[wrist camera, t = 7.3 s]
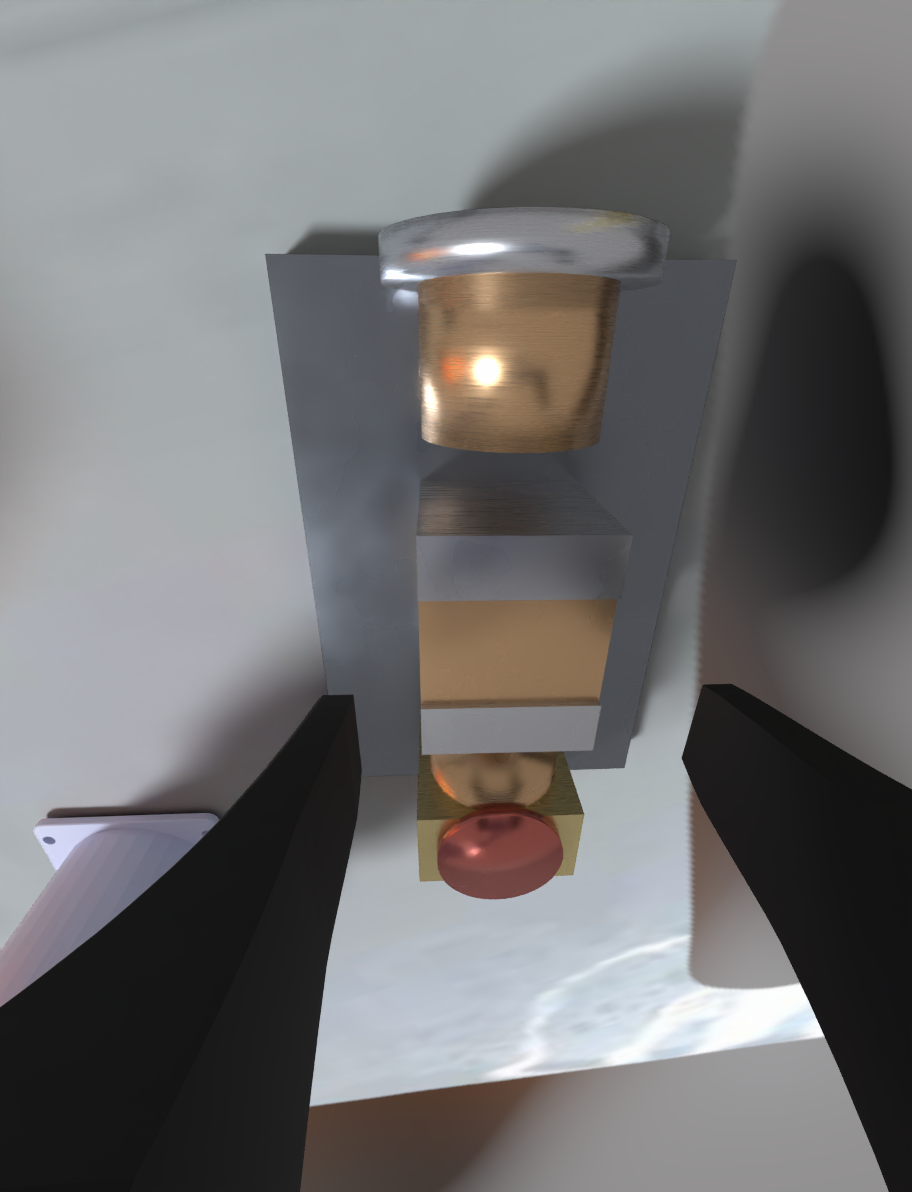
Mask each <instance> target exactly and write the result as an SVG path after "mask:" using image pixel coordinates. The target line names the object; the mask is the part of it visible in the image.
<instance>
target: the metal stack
mask: <svg viewBox="0 0 912 1192" xmlns="http://www.w3.org/2000/svg"><path fill="white" fill-rule="evenodd" d="M669 237H670V229H669V228H668V227H667V226H666V225H665V224H663V223H661V222H659V221H656V220H653V219H650V218H647V217H643V216H639V215H634V214H629V213H623V212H616V211H608V210H599V209H586V208H569V207H503V208H486V209H472V210H462V211H453V212H446V213H438V214H432V215H427V216H421V217H416V218H412V219H408V220H404V221H401V222H398V223H395V224H392V225H390V226H388V227H386V228H384V229H383V230H382V231H381V232H380V233H379V235H378V244H379V255H312V254H265V256H266V263H267V270H268V277H269V284H270V291H271V298H272V305H273V312H274V319H275V326H276V333H277V340H278V347H279V354H280V361H281V368H282V375H283V382H284V389H285V396H286V403H287V410H288V417H289V424H290V431H291V438H292V445H293V452H294V459H295V466H296V473H297V480H298V487H299V494H300V501H301V508H302V515H303V522H304V529H305V536H306V543H307V550H308V557H309V564H310V571H311V578H312V585H313V592H314V599H315V607H316V614H317V621H318V628H319V635H320V642H321V649H322V656H323V663H324V670H325V677H326V684H327V691H328V695H352V694H354V703H355V712H356V721H357V730H358V739H359V748H360V757H361V766H362V774H361V777H362V776H393V775H418V803H417V831H418V853H419V875H420V881H445V882H446V883H447V884H448V885H449V886H450V887H452V888H453V889H455V890H456V891H458V892H460V893H463V894H465V895H468V896H472V897H476V898H482V899H506V898H512V897H516V896H520V895H524V894H527V893H529V892H531V891H534V890H536V889H538V888H539V887H541V886H543V885H544V884H546V883H547V882H548V881H549V880H550V879H552V878H553V876H564V875H573V873H574V868H575V862H576V857H577V851H578V846H579V840H580V835H581V829H582V823H583V818H584V813H583V810H582V806H581V803H580V800H579V797H578V794H577V791H576V788H575V785H574V782H573V779H572V776H571V773H570V770H579V769H610V768H624V767H625V763H626V758H627V754H628V749H629V745H630V740H631V736H632V731H633V727H634V722H635V718H636V713H637V708H638V704H639V699H640V695H641V690H642V686H643V681H644V677H645V672H646V668H647V663H648V659H649V654H650V650H651V645H652V641H653V636H654V632H655V627H656V623H657V618H658V614H659V609H660V604H661V600H662V595H663V591H664V586H665V582H666V577H667V573H668V568H669V564H670V559H671V555H672V550H673V546H674V541H675V537H676V532H677V528H678V523H679V519H680V514H681V510H682V505H683V500H684V496H685V491H686V487H687V482H688V478H689V473H690V469H691V464H692V460H693V455H694V451H695V446H696V442H697V437H698V433H699V428H700V424H701V419H702V415H703V410H704V406H705V401H706V396H707V392H708V387H709V383H710V378H711V374H712V369H713V365H714V360H715V356H716V351H717V347H718V342H719V338H720V333H721V329H722V324H723V320H724V315H725V311H726V306H727V302H728V297H729V292H730V288H731V283H732V279H733V274H734V270H735V265H736V261H737V260H689V259H666V255H667V249H668V243H669ZM420 481H577V482H578V483H579V484H580V485H581V486H582V487H583V488H584V489H585V490H586V491H587V492H588V493H589V494H590V495H591V496H592V497H593V498H594V499H595V500H597V501H598V502H599V503H600V504H601V505H602V506H603V507H604V508H605V509H606V510H607V511H608V512H609V513H610V514H611V515H612V516H613V517H614V518H615V519H616V520H618V521H619V522H620V523H621V524H622V525H623V526H624V527H625V528H626V529H627V530H628V531H629V532H630V533H631V534H632V535H633V538H632V544H631V549H630V555H629V560H628V565H627V571H626V576H625V581H624V587H623V592H622V597H621V599H618V600H617V605H616V611H615V616H614V621H613V627H612V632H611V638H610V643H609V649H608V654H607V660H606V665H605V671H604V676H603V682H602V687H601V692H600V698H599V702H600V704H601V710H600V715H599V720H598V726H597V731H596V736H595V742H594V747H593V750H590V751H550V752H510V753H470V754H430V755H422V739H421V690H420V650H419V611H418V583H417V545H416V533H417V520H418V506H419V492H420Z"/></svg>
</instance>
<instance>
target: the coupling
mask: <svg viewBox="0 0 912 1192" xmlns="http://www.w3.org/2000/svg"><path fill="white" fill-rule="evenodd" d="M632 538H633V535H632V534H631V533H630V532H629V531H628V530H627V529H626V528H625V527H624V526H623V525H622V524H621V523H620V522H619V521H618V520H616V519H615V518H614V517H613V516H612V515H611V514H610V513H609V512H608V511H607V510H606V509H605V508H604V507H603V506H602V505H601V504H600V503H599V502H598V501H597V500H595V499H594V498H593V497H592V496H591V495H590V494H589V493H588V492H587V491H586V490H585V489H584V488H583V487H582V486H581V485H580V484H579V483H578V482H577V481H420V492H419V506H418V520H417V533H416V545H417V583H418V611H419V650H420V690H421V739H422V755H430V754H470V753H510V752H550V751H590V750H593V747H594V742H595V736H596V731H597V726H598V720H599V715H600V710H601V704H600V702H599V698H600V692H601V687H602V682H603V676H604V671H605V665H606V660H607V654H608V649H609V643H610V638H611V632H612V627H613V621H614V616H615V611H616V605H617V600H618V599H621V597H622V592H623V587H624V581H625V576H626V571H627V565H628V560H629V555H630V549H631V544H632Z"/></svg>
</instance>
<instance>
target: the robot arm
mask: <svg viewBox="0 0 912 1192" xmlns="http://www.w3.org/2000/svg"><path fill="white" fill-rule="evenodd" d="M682 760H683V763H684V765H685V768H686V770H687V772H688V775H689V777H690V780H691V782H692V785H693V787H694V789H695V791H696V794H697V796H698V798H699V800H700V803H701V805H702V807H703V808H704V810H705V812H706V813H707V815H708V817H709V819H710V821H711V822H712V824H713V826H714V828H715V829H716V831H717V833H718V835H719V836H720V838H721V840H722V841H723V843H724V845H725V846H726V848H727V850H728V852H729V853H730V855H731V857H732V858H733V860H734V862H735V863H736V865H737V867H738V869H739V870H740V872H741V874H742V875H743V877H744V879H745V880H746V882H747V884H748V885H749V887H750V889H751V891H752V892H753V894H754V896H755V897H756V899H757V901H758V902H759V904H760V906H761V907H762V909H763V911H764V913H765V914H766V916H767V918H768V920H769V921H770V923H771V925H772V927H773V929H774V931H775V933H776V935H777V936H778V938H779V940H780V942H781V944H782V946H783V948H784V950H785V952H786V954H787V956H788V959H789V960H790V963H791V965H792V967H793V969H794V971H795V973H796V975H797V977H798V979H799V982H800V984H801V986H802V988H803V990H804V992H805V994H806V996H807V998H808V1000H809V1003H810V1005H811V1007H812V1009H813V1011H814V1014H815V1016H816V1018H817V1020H818V1023H819V1025H820V1027H821V1029H822V1032H823V1034H824V1036H825V1038H826V1041H827V1043H828V1045H829V1047H830V1049H831V1052H832V1054H833V1056H834V1058H835V1061H836V1063H837V1065H838V1067H839V1070H840V1072H841V1074H842V1077H843V1079H844V1082H845V1084H846V1086H847V1089H848V1091H849V1094H850V1096H851V1098H852V1101H853V1103H854V1106H855V1108H856V1111H857V1113H858V1115H859V1118H860V1120H861V1122H862V1125H863V1127H864V1130H865V1132H866V1135H867V1137H868V1139H869V1142H870V1144H871V1147H872V1149H873V1152H874V1154H875V1157H876V1159H877V1162H878V1164H879V1167H880V1170H881V1172H882V1175H883V1178H884V1180H885V1183H886V1185H887V1188H888V1191H889V1192H912V789H910V788H908V787H906V786H905V785H903V784H901V783H899V782H897V781H895V780H894V779H892V778H890V777H888V776H887V775H884V774H883V773H881V772H879V771H877V770H876V769H874V768H872V767H870V766H869V765H867V764H865V763H864V762H862V761H860V760H859V759H857V758H855V757H854V756H852V755H850V754H848V753H847V752H845V751H843V750H842V749H840V748H838V747H837V746H835V745H833V744H832V743H830V742H828V741H827V740H825V739H823V738H822V737H820V736H818V735H817V734H815V733H814V732H812V731H810V730H809V729H807V728H805V727H804V726H802V725H801V724H799V723H797V722H796V721H794V720H792V719H791V718H789V717H788V716H786V715H784V714H783V713H781V712H779V711H778V710H776V709H774V708H773V707H771V706H770V705H768V704H766V703H764V702H763V701H761V700H759V699H758V698H756V697H754V696H753V695H751V694H749V693H747V692H746V691H744V690H742V689H740V688H738V687H736V686H734V685H732V684H711V685H703V686H702V689H701V693H700V696H699V699H698V703H697V706H696V710H695V713H694V717H693V720H692V724H691V727H690V731H689V734H688V738H687V741H686V745H685V748H684V752H683V755H682ZM361 774H362V766H361V757H360V748H359V739H358V730H357V721H356V712H355V703H354V694H352V695H323V696H322V697H321V698H320V699H319V700H318V701H317V702H316V704H315V705H314V706H313V708H312V709H311V710H310V712H309V713H308V715H307V716H306V717H305V719H304V720H303V721H302V723H301V724H300V725H299V727H298V728H297V729H296V731H295V732H294V733H293V735H292V736H291V737H290V739H289V740H288V741H287V742H286V744H285V745H284V746H283V747H282V749H281V750H280V751H279V752H278V754H277V755H276V756H275V757H274V758H273V760H272V761H271V762H270V763H269V765H268V766H267V767H266V768H265V770H264V771H263V772H262V773H261V774H260V776H259V777H258V778H257V779H256V780H255V781H254V783H253V784H252V785H251V786H250V787H249V788H248V789H247V790H246V791H245V792H244V794H243V795H242V796H241V797H240V798H239V799H238V800H237V801H236V802H235V804H234V805H233V806H232V807H231V808H230V809H229V810H228V811H227V812H226V814H225V815H224V816H223V817H222V818H221V819H220V820H219V819H218V817H217V816H215V815H214V814H211V813H189V814H161V815H132V816H103V817H75V818H47V819H42V820H40V821H39V822H38V823H37V825H36V826H35V827H34V829H33V830H34V833H35V835H36V837H37V838H38V840H39V842H40V844H41V845H42V847H43V849H44V851H45V852H46V854H47V856H48V858H49V859H50V861H51V863H52V864H53V866H54V868H55V870H56V873H55V874H54V876H53V877H52V878H51V880H50V881H49V883H48V884H47V886H46V887H45V888H44V890H43V891H42V893H41V894H40V895H39V897H38V898H37V900H36V901H35V903H34V904H33V905H32V907H31V908H30V910H29V911H28V912H27V914H26V915H25V917H24V918H23V919H22V921H21V922H20V924H19V925H18V927H17V928H16V929H15V931H14V932H13V934H12V935H11V936H10V938H9V939H8V941H7V942H6V944H5V945H4V946H3V948H2V949H1V951H0V1192H300V1187H301V1177H302V1168H303V1159H304V1150H305V1140H306V1132H307V1122H308V1113H309V1104H310V1096H311V1088H312V1079H313V1071H314V1062H315V1054H316V1046H317V1037H318V1029H319V1021H320V1013H321V1006H322V998H323V990H324V982H325V974H326V967H327V961H328V955H329V950H330V944H331V938H332V933H333V929H334V924H335V919H336V915H337V910H338V905H339V901H340V896H341V891H342V887H343V882H344V878H345V873H346V868H347V864H348V859H349V854H350V849H351V845H352V840H353V835H354V830H355V825H356V821H357V813H358V804H359V795H360V784H361Z"/></svg>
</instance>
